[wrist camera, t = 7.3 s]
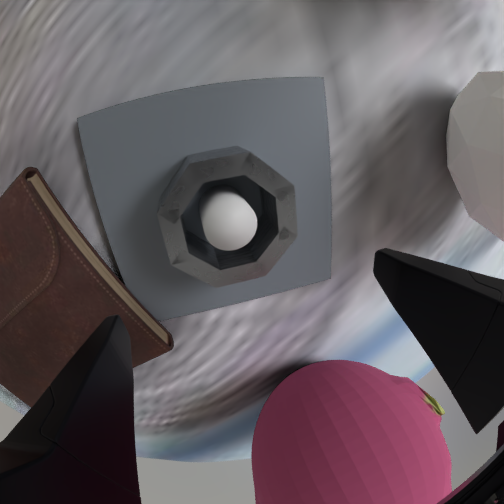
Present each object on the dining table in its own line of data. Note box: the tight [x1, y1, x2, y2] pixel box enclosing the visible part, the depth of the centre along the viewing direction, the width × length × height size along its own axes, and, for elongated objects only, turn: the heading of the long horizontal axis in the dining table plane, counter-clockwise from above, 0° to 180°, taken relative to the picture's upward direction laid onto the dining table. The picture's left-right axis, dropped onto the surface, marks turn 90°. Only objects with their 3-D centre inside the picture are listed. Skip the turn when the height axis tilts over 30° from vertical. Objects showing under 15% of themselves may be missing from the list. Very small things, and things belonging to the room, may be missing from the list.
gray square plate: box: [77, 77, 332, 321], centre depth 15 cm, size 14×14×4 cm
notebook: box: [0, 167, 174, 408], centre depth 15 cm, size 15×20×2 cm
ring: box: [157, 146, 298, 288], centre depth 15 cm, size 7×7×3 cm
